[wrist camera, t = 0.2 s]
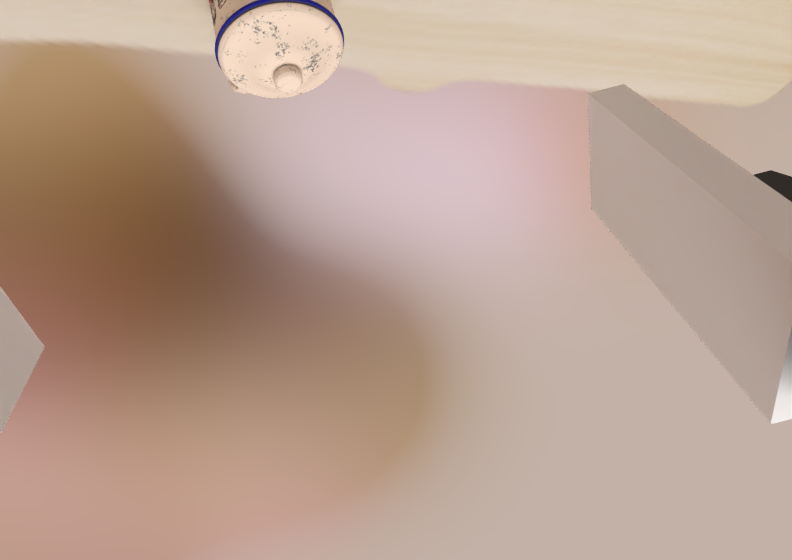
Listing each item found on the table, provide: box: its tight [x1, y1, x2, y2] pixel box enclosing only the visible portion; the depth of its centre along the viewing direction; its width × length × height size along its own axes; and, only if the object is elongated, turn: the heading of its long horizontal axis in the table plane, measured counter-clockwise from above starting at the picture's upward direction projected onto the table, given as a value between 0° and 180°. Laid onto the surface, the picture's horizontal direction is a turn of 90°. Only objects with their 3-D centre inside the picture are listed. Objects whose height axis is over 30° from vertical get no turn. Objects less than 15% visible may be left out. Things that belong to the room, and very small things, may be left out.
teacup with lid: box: [209, 0, 344, 98], centre depth 46 cm, size 12×9×12 cm
